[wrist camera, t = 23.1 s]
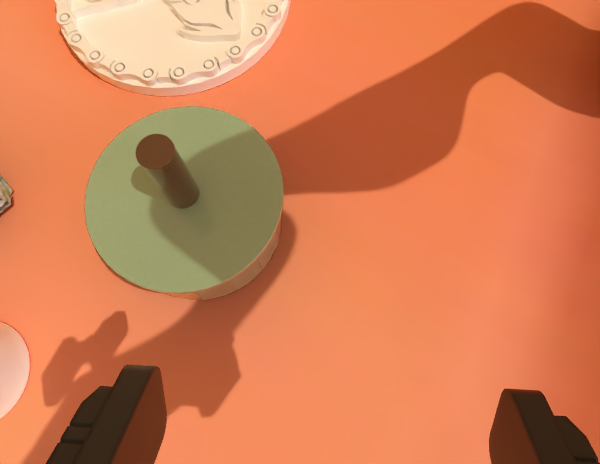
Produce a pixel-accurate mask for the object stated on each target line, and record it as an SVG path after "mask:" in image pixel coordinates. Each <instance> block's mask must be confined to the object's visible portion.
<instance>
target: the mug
mask: <svg viewBox="0 0 600 464" xmlns="http://www.w3.org/2000/svg"><path fill="white" fill-rule="evenodd" d="M29 372H30V357H29V352H28V348H27V346H26V343H25V342H24V340H23V338H22V337H21V335H20V334H19V333H18V332H17V331H16V330H15V329H14V328H12V327H11V326H9V325H7V324H5V323H3V322H0V418H2V417H3V416H4V415H6V414H7V413H8V412H9V411H10V410H11V409H12V408H13V407H14V405H15V404H16V403H17V401H18V400H19V398H20V397H21V395H22V393H23V391H24V389H25V387H26V384H27V381H28V377H29Z"/></svg>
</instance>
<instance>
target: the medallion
mask: <svg viewBox="0 0 600 464" xmlns="http://www.w3.org/2000/svg"><path fill="white" fill-rule="evenodd" d="M54 1H55V2H56V11H57V16H56V20H57V22H58V23H59V25H60V28H61V32H62V33H63V35H64V37H65V39H66V41H67V42H68V44H69V46H70V47H71V49H72V50H73V51H74V53H75V54H76V56H77V57H78V58H79V59H80V60H81V61H82V62H83V64H84V65H85V66H86V67H87V68H88V69H89V70H90V71H92V72H93V73H94V74H96V75H97V76H98V77H100V78H101V79H102V80H104V81H106V82H108V83H110V84H112V85H114V86H116V87H118V88H121V89H124V90H128V91H131V92H135V93H138V94H145V95H153V96H181V95H186V94H192V93H197V92H202V91H205V90H208V89H211V88H214V87H216V86H219V85H222V84H224V83H226V82H228V81H230V80H232V79H234V78H235V77H237V76H239V75H241V74H242V73H244V72H245V71H246V70H248V69H249V68H250V67H252V66H253V65H254V64H256V63H257V62H258V61H259V60H260V59H261V58H262V57H263V56H264V55H265V54H266V53H267V52H268V50H269V49H270V48H271V47H272V45H273V44H274V42H275V41H276V39H277V38H278V36H279V35H280V33H281V31H282V29H283V26H284V24H285V22H286V19H287V17H288V12H289V7H290V2H291V0H54Z"/></svg>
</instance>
